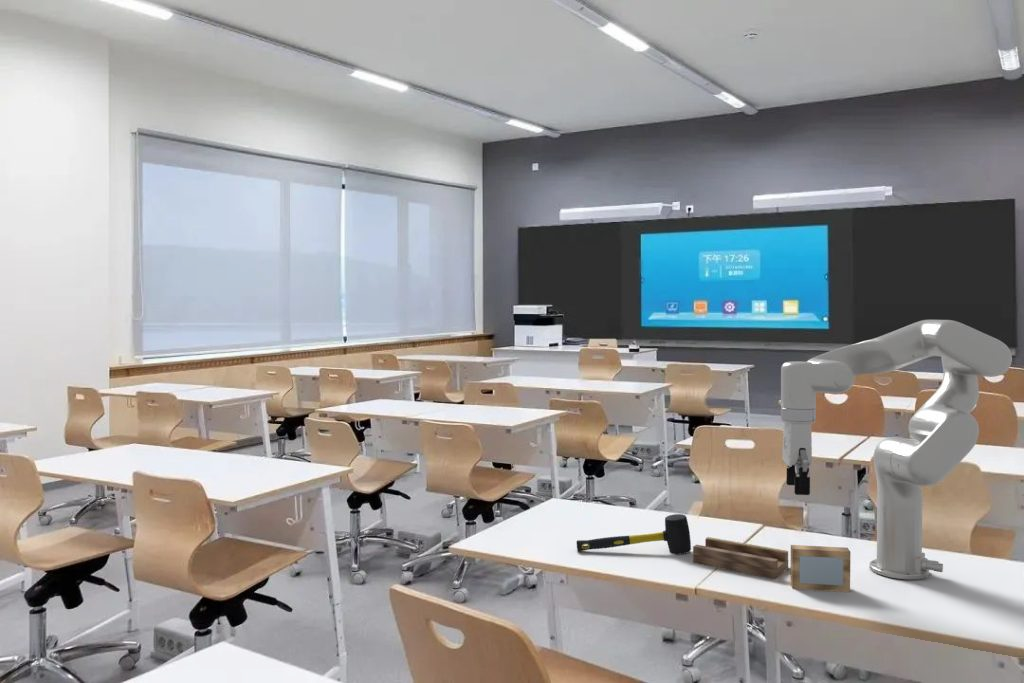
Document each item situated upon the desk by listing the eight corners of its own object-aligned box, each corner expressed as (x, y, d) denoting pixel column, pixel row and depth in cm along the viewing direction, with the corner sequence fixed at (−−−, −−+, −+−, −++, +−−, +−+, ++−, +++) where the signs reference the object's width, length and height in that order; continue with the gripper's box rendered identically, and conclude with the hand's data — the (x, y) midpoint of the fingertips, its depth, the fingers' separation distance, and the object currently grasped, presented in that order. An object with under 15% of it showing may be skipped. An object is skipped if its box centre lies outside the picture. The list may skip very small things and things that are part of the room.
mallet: (577, 555, 199) (576, 518, 199) (576, 548, 205) (575, 512, 205) (692, 556, 198) (693, 518, 198) (688, 549, 204) (688, 512, 204)
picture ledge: (788, 567, 189) (788, 550, 188) (774, 578, 181) (774, 560, 180) (708, 552, 200) (708, 536, 200) (692, 562, 192) (692, 545, 192)
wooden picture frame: (847, 587, 175) (847, 547, 175) (850, 592, 172) (850, 552, 171) (790, 584, 177) (790, 544, 177) (792, 589, 174) (792, 549, 174)
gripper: (774, 410, 189) (774, 481, 190) (788, 420, 172) (787, 498, 173) (807, 411, 188) (807, 482, 189) (824, 421, 171) (823, 499, 172)
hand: (797, 489), depth 181 cm, fingers open, 9 cm apart
